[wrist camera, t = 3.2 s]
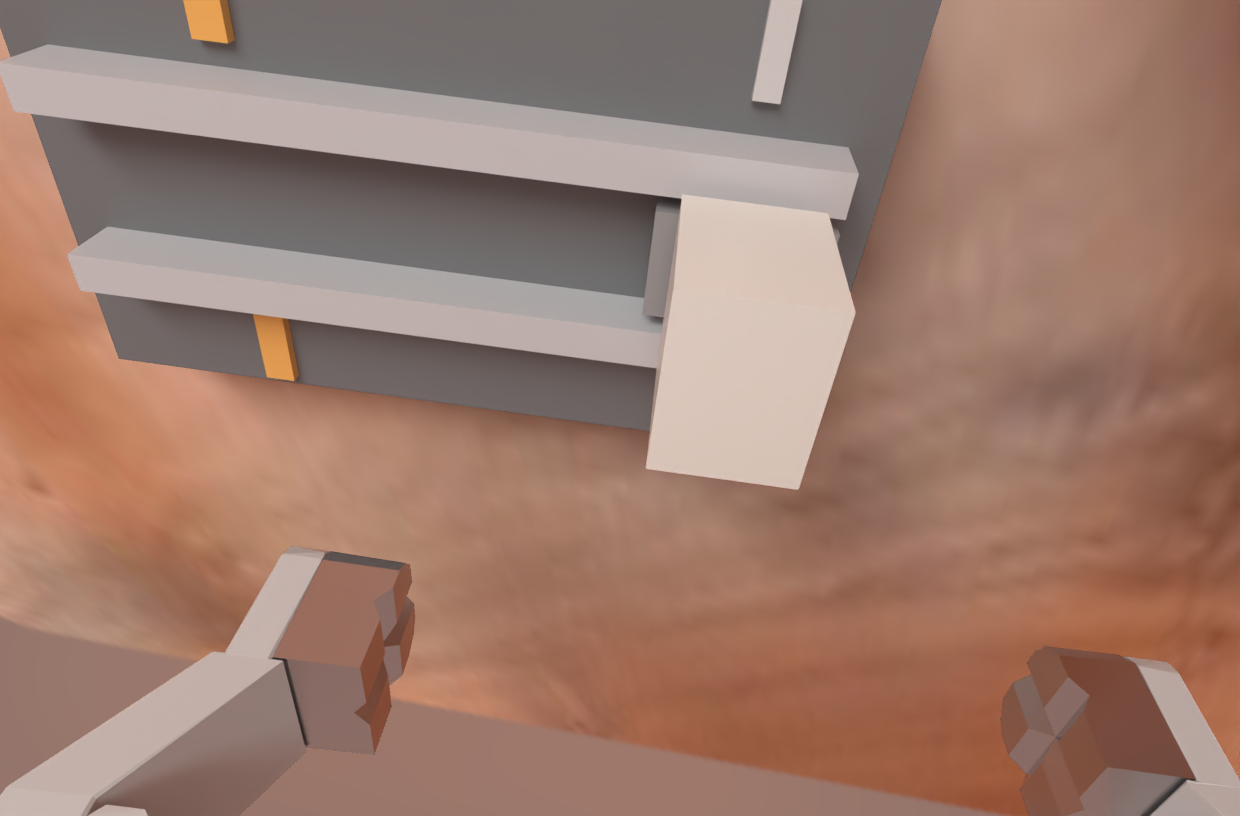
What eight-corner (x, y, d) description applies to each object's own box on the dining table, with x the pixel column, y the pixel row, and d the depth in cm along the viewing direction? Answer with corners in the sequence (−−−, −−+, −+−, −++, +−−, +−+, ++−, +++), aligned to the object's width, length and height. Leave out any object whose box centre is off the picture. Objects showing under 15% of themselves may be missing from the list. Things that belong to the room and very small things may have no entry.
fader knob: (841, 182, 17) (885, 317, 13) (799, 335, 20) (824, 492, 15) (663, 159, 17) (643, 284, 13) (642, 314, 20) (620, 465, 15)
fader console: (915, -39, 18) (967, 1, 14) (792, 390, 25) (805, 490, 21) (43, -146, 18) (-129, -135, 14) (174, 307, 25) (83, 390, 22)
